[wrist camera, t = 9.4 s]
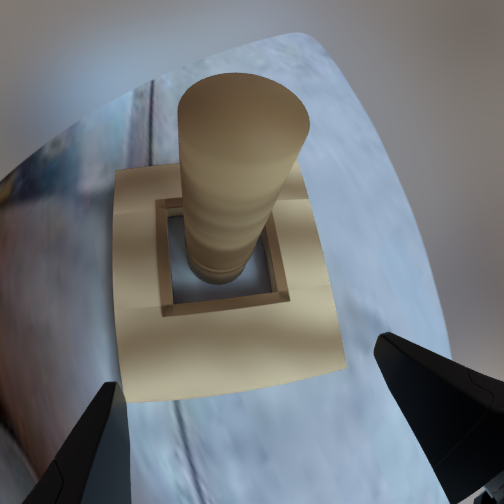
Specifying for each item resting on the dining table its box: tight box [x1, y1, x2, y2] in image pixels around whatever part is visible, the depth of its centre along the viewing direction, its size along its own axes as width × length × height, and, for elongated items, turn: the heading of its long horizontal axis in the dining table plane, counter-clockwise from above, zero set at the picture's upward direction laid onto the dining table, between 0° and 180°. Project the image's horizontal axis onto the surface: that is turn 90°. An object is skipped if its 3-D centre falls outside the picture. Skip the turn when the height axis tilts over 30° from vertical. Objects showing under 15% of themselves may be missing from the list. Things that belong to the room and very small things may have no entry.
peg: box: [178, 73, 310, 285], centre depth 14 cm, size 4×4×13 cm
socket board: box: [112, 159, 347, 403], centre depth 19 cm, size 16×14×1 cm
